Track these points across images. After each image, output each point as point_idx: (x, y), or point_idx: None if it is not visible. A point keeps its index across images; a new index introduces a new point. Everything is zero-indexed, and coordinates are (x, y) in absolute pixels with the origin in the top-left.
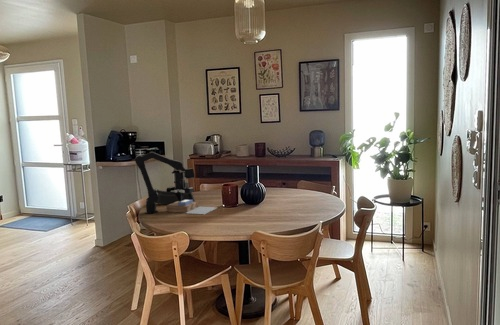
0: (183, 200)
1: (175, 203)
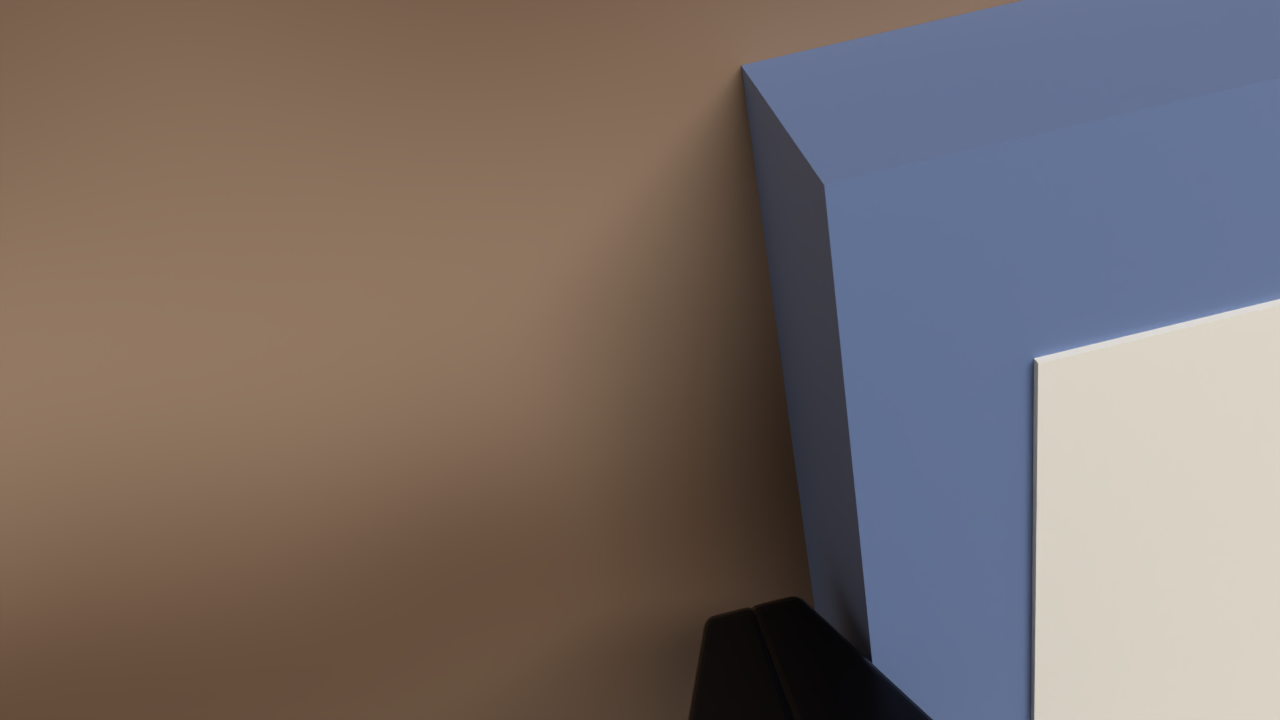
0: (971, 576)
1: (281, 697)
